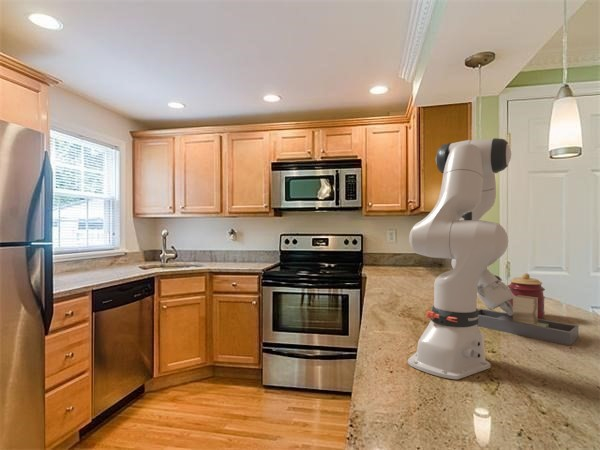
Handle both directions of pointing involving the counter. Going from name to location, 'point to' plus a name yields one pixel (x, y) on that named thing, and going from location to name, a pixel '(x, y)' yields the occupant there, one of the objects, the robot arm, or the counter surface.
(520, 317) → the block
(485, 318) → the box
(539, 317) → the canister
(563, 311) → the counter surface
